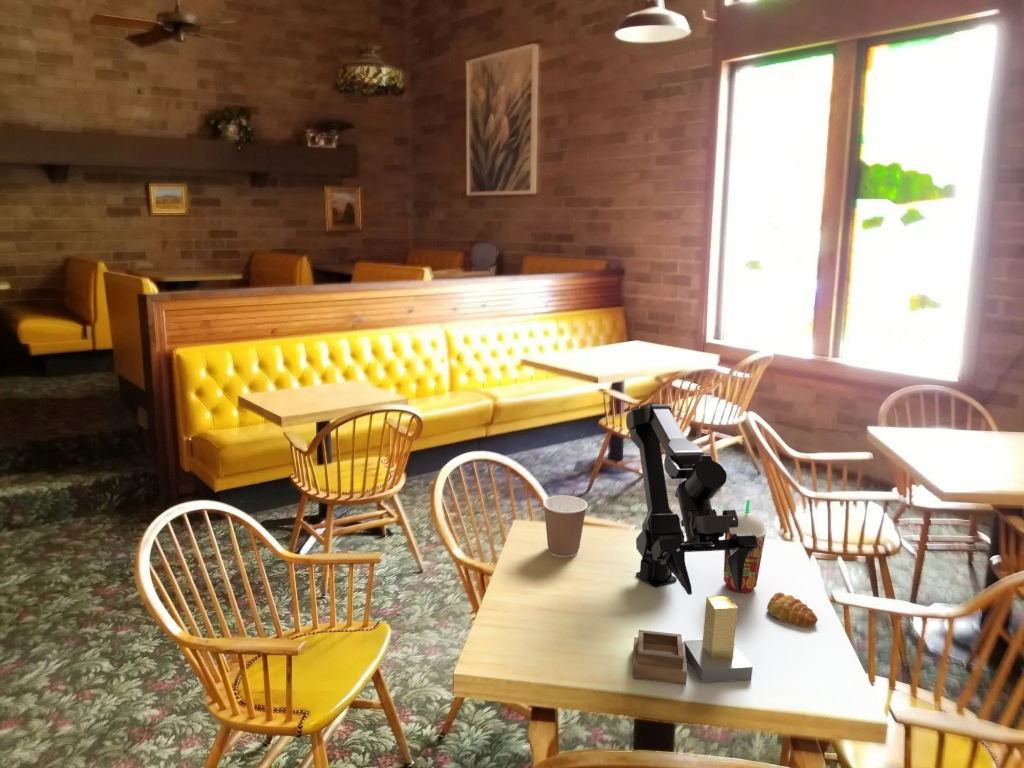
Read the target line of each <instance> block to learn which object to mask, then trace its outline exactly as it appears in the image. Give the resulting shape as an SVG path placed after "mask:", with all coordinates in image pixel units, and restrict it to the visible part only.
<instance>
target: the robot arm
mask: <svg viewBox="0 0 1024 768" xmlns="http://www.w3.org/2000/svg"><path fill="white" fill-rule="evenodd" d="M625 424H626V428H627V429H628V431H629V436H630V439H631V441H632V443H634V444H635V446H636V447H637V448H638V449H639V455H640V457H639V458H640V463H641V471H642V472H641V473H642V479H643V480H642V481H643V485H644V494H645V501H646V509H647V513H646V515H645V517H644V520H643V522H642V523H641V525H642V526H641V528H642V529H641V530H642V531H641V532H640V533H639V535H638V536H637V537H636V539H635V545H636V550H637V551H638V553H639V554H640V556H641V559H640V565H639V567H640V569H639V571H637V572H636V573H635V576H636V577H638V578H639V579H641V580H642V581H644V582H646V583H647V584H649V585H651V586H652V587H655V588H658V587H661V586H663V585H667V584H670V583H673V582H676V581H678V582H679V583H680V585H681V586H682V588H683V590H684V591H685V592H686V594H687V595H688V596H690V595H692V594H693V591H692V583H691V581H690V576H689V572H688V569H687V565H686V562H685V561H686V560H685V559H686V558H685V556H686V554H685V553H697V552H699V553H700V552H719V551H725V550H727V553H728V554H729V555H730V557H729V558H728V559H727V560H728V564H729V567H730V571H731V575H732V578H733V582H734V585H735V588H736V590H737V592H740V591H741V588H742V578H743V569H744V564H745V560H746V557H747V556H748V555H750V554H751V553H752V552H753V551H754V550H755V549H756V548H758V547H759V543H758V539H757V537H756V536H755V535H754V534H753V533H752V532H750V533H735V534H734V535H732V536H731V537H730V538H729V539H728V540H725V539H720V538H723V537H725V533H730V528H734V527H738V517H737V514H736V513H737V512H736V509H726V510H725V509H724V510H722V514H721V515H720V514H719V515H718V514H717V511H716V509H715V508H714V509H713V508H712V504H711V499H713V498H714V496H715V495H716V494H717V493H718V492H719V490H721V488H722V487H723V486H724V485H725V484H726V481H727V477H728V476H727V471H726V470H725V469H724V466H722V465H721V464H720V463H719V462H717V461H715V460H713V457H712V455H711V454H707V455H706V454H705V453H704V451H703V449H701V448H700V446H699V445H697V444H696V443H695V442H693V441H690V440H688V439H687V437H686V435H684V432H683V431H682V430H681V427H680V425H679V423H678V422H677V420H676V418H675V417H674V415H673V410H672V408H671V405H670V404H667V403H649V404H648V405H645V406H643V407H640V408H632V409H631V411H630V412H629V413H627V414H626V418H625ZM661 446H662V448H663V450H664V452H665V457H664V462H663V456H662V449H661ZM665 473H666V474H667V475H668V477H669V478H670V479H672V480H683V481H681V482H680V483H678V485H677V488H676V490H675V494H674V496H675V497H676V498H677V500H678V505H679V509H680V513H681V514H680V515H681V520H680V516H679V515H678V513H674V512H673V511H672V510H671V508H670V503H669V498H668V491H667V490H668V489H667V484H666V476H665ZM682 527H683V528H684V532H683V529H682ZM684 533H685V535H684ZM685 536H686V540H685Z"/></svg>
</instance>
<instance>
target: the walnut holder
mask: <svg viewBox="0 0 1024 768" xmlns="http://www.w3.org/2000/svg"><path fill="white" fill-rule="evenodd" d="M637 634H638V635H637V636H638V637H636V636H634V637H633V650H632V651H633V652H632V653H633V654H632V657H633V658H632V679H634V680H642V681H652V682H659V683H668V684H675V685H676V684H677V685H684V686H686V685H687V678H688V677H687V676H688V668H687V666H688V665H687V659H686V654H685V643H684V641H683V637H682V634H680V633H674V632H673V633H671V632H663V631H655V630H654V631H652V630H643V629H639V630H638V633H637Z"/></svg>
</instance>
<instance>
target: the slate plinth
mask: <svg viewBox="0 0 1024 768" xmlns="http://www.w3.org/2000/svg"><path fill="white" fill-rule="evenodd" d="M683 643H685V654H686V662H688V664H689V665H690V667H691V669H692V670H693V672H694V673H695V675H696V677H697V678H698V679H699V681H700V682H701V684H708V683H720V682H722V683H723V682H736V681H750V680H751V681H752V677H753V676H752V674H753V665H752V664H751V663H750V662H749V660H748V659H747V658H746V656H745V655H744V654H743V652H742V651H741V649H740V648H739V647H738V646H737V644H736V643H735V642H734V651H733V659H728V660H714V661H711V660H710V659H709V657H708V656H707V654H706V653H705V651H704V650H703V648H702V643H703V639H695V640H694V639H693V640H683Z"/></svg>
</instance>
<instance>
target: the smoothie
mask: <svg viewBox="0 0 1024 768" xmlns="http://www.w3.org/2000/svg"><path fill="white" fill-rule="evenodd" d="M750 501H751V499H746V504H745V510H742V511H738V512H736V514H737V517H738V527H734V528H730V533H724V540H728V539H729V538H730V537H731V536H732V535H734V534H735V533H750V532H752V533H753V534H754V535H755V536H756V537H757V539H758V543H759V547H758V548H756V549H755V550H754V551H753V552H752V553H751V554H750V555H748V556H747V557H746V560H745V564H744V569H743V578H742V588H741V591H740V592H737V590H736V588H735V585H734V582H733V578H732V575H731V571H730V567H729V564H728V560H727V559H728V558H729V557H730V555H729V554H728V553H727V550H724V553H723V554H724V557H723V558H724V559H723V561H724V562H723V564H724V565H723V581H724V583H725V586H726V588H727V589H728V590H729V591H732V592H734V593H737V594H743V593H744V594H750V593H752V592H753V591H754V590H755V588H756V587H757V584H758V578H759V573H760V566H761V561H762V556H763V549H764V545H765V539H766V534H767V529H766V527H765V526H764V523H763V522H762V519H761V518H760V517H759V516H758V515H756V514H755V513H753V512H751V511H750V505H751V504H750V503H751V502H750Z"/></svg>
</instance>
